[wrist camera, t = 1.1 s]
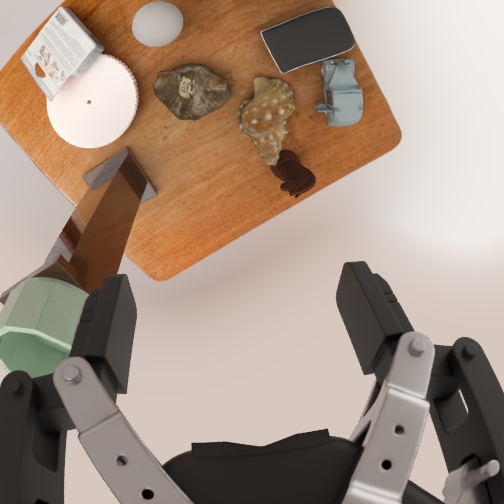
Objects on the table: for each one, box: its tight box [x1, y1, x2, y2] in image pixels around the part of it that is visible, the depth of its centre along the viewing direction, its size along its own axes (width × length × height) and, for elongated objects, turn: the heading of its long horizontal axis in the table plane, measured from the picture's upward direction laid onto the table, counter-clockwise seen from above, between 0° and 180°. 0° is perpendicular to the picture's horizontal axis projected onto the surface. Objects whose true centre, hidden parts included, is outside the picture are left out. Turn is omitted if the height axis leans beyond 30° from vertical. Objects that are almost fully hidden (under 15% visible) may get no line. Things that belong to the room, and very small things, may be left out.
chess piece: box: [271, 150, 316, 198], centre depth 45 cm, size 5×5×10 cm
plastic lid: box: [46, 53, 139, 149], centre depth 37 cm, size 14×14×2 cm
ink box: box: [21, 6, 105, 102], centre depth 31 cm, size 2×11×10 cm
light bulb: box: [132, 1, 183, 47], centre depth 30 cm, size 6×6×10 cm
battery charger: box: [261, 7, 355, 74], centre depth 35 cm, size 7×4×11 cm
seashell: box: [237, 76, 295, 166], centre depth 42 cm, size 9×8×10 cm
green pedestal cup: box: [0, 146, 158, 378], centre depth 34 cm, size 11×11×34 cm
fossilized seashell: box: [153, 64, 231, 121], centre depth 38 cm, size 8×7×10 cm
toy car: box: [314, 59, 363, 127], centre depth 40 cm, size 6×10×5 cm, turn 8°
